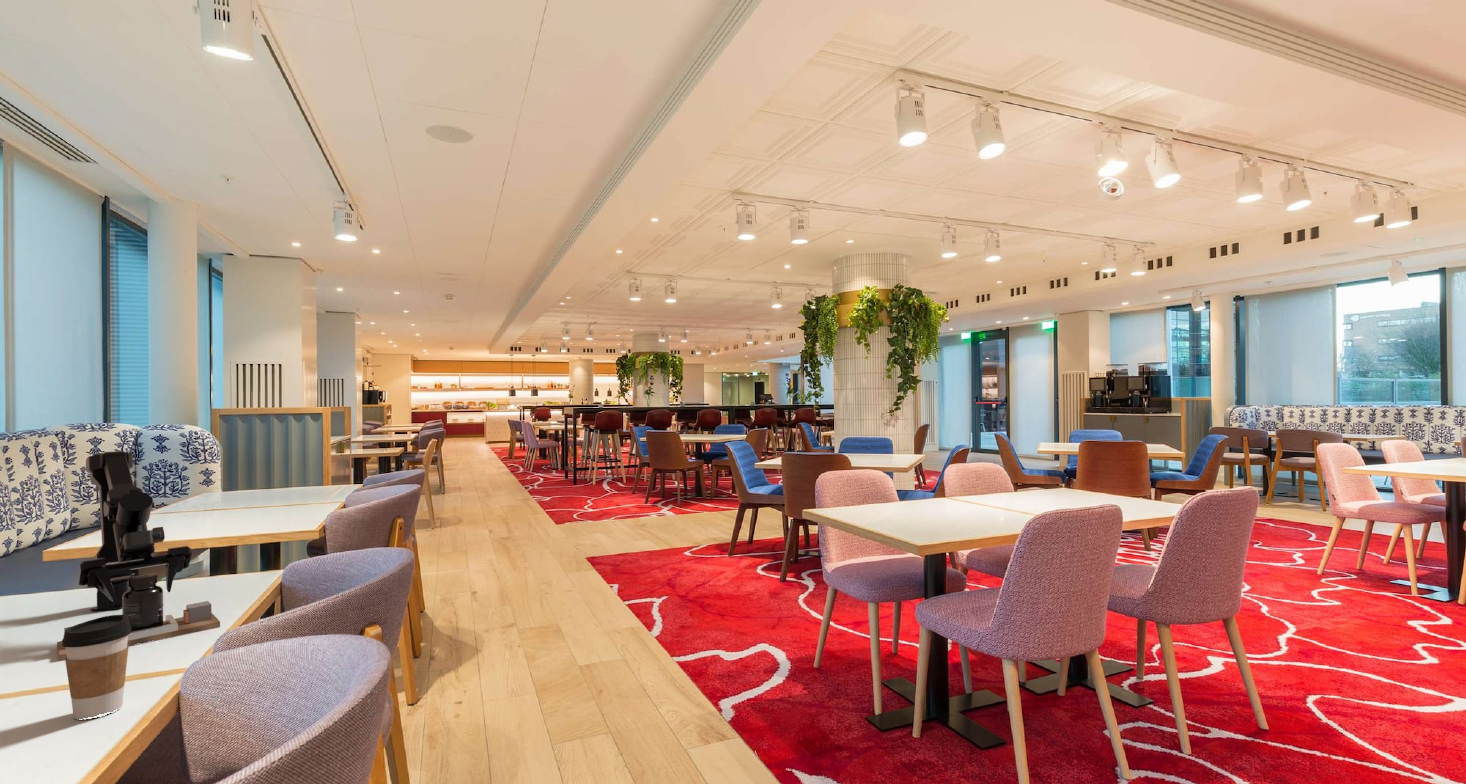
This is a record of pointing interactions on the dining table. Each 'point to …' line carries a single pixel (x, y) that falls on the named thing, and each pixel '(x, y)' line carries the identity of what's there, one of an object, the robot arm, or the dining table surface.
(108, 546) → the robot arm
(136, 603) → the supplement bottle
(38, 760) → the dining table surface
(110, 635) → the coffee cup
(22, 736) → the dining table surface
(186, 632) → the walnut rail
